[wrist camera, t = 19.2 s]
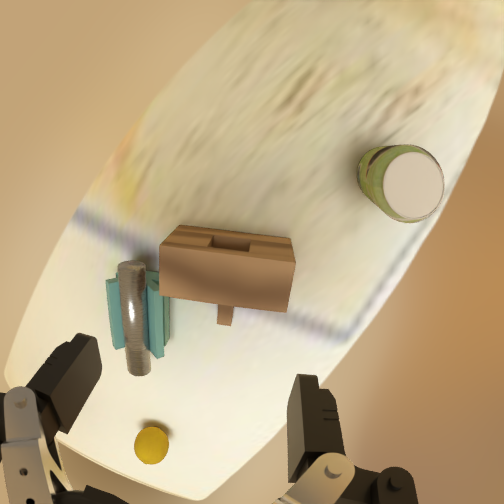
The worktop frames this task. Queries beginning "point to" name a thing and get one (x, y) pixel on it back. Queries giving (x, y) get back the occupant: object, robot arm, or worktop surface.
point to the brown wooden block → (227, 269)
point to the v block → (155, 314)
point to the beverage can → (402, 181)
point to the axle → (134, 316)
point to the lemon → (151, 445)
